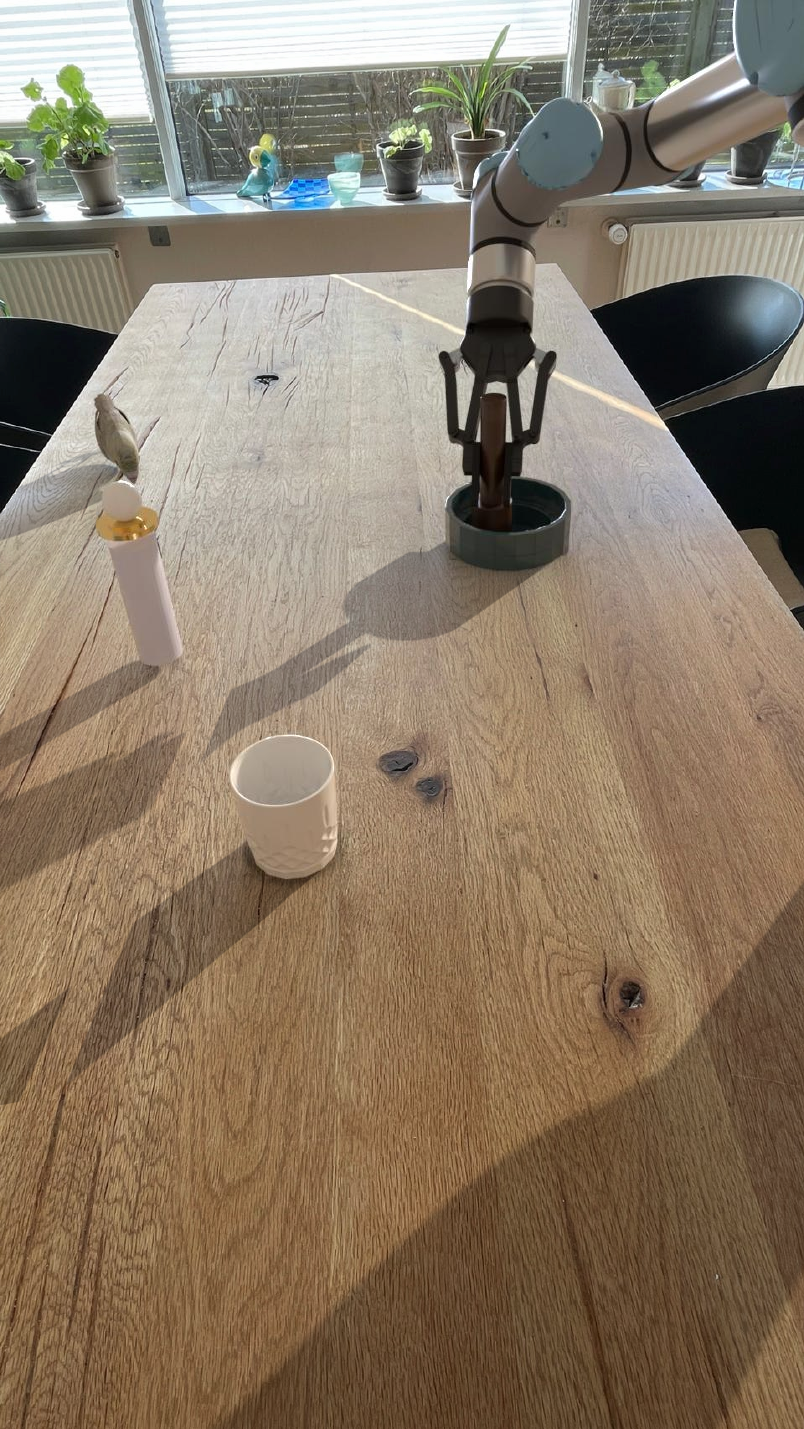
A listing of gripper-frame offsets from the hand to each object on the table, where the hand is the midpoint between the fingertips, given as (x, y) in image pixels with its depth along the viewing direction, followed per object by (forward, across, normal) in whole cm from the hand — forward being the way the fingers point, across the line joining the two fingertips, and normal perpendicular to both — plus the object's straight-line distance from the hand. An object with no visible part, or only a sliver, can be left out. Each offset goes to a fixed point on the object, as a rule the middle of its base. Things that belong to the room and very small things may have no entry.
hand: (490, 503), depth 105 cm
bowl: (+3, -2, -9) cm, 10 cm away
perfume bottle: (+20, +33, +8) cm, 39 cm away
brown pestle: (+1, 0, -7) cm, 7 cm away
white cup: (+38, +13, +26) cm, 48 cm away
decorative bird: (-13, +54, -25) cm, 61 cm away
